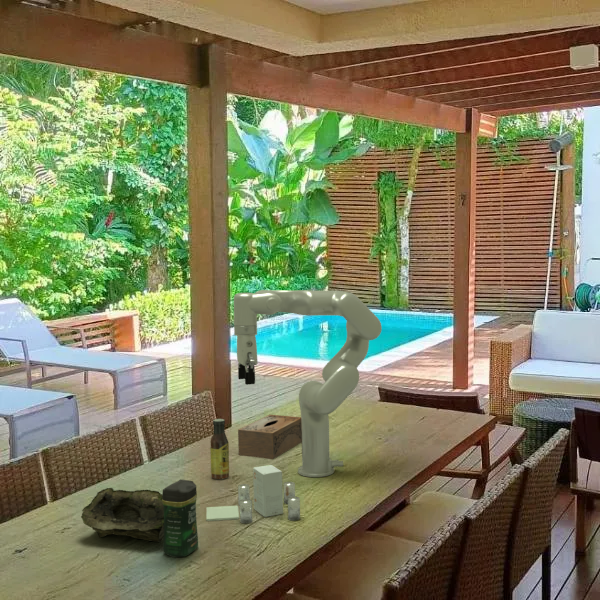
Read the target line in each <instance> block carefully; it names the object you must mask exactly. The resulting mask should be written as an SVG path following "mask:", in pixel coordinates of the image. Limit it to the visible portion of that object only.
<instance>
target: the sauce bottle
mask: <svg viewBox="0 0 600 600" xmlns="http://www.w3.org/2000/svg"><path fill="white" fill-rule="evenodd" d="M225 424H226V421H225V419H223V418H216V419H212V425H213V434H212V436H211V438H210V441H209V443H210V447H209V449H210V473H211V475H210V476H211V478H212V479H214V480H224V479H227V478H229V476H230V475H229V473H230V453H229V452H230V448H229V445H230V444H229V440H228V437H227V434H226V431H225V430H226V429H225Z"/></svg>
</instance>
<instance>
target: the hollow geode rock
mask: <svg viewBox="0 0 600 600" xmlns="http://www.w3.org/2000/svg"><path fill="white" fill-rule="evenodd" d="M81 511H82V513H81V520H82V521H83V524H84V525H85V526H87V527H89V528H91V529H92V530H94V531H95V532H96V533H97V534H98V537H99V538H102V537H106V536H108V535H117V536H129V537H131V538H134V539H138V540H144V541H150V542H158V543H161V542H163V540H164V507H163V502H162V492H160V491H156V490H150V489H137V490H133V491H132V490H131V491H130V490H129V491H128V490H123V489H118V490H114V488H112V487H108V488H107V487H106V488H105V489H101V490H100V491H97V493H96V495H95V496H94V497H93V499H92V500H91V502H90V503H89V504H87V505H86V506H84V507H83V509H81Z"/></svg>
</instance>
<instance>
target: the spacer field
mask: <svg viewBox="0 0 600 600" xmlns="http://www.w3.org/2000/svg"><path fill="white" fill-rule="evenodd" d="M282 485H283V504H285V505H287V519H288V520H289V521H294V522H295V521H299V520H300V519H301V503H300V501H301V500H300V497H299V496H296V484H295V482H294V481H285V482H282ZM250 488H251V487H250V484H247V483H241V484H239V485H237V493H238V494H237V495H238V497H237V498H238V501H237V503H238V507H239V522H240V523H241V524H250V523H252V522H253V501H252V499H251V491H250Z"/></svg>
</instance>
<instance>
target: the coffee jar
mask: <svg viewBox="0 0 600 600" xmlns="http://www.w3.org/2000/svg"><path fill="white" fill-rule="evenodd" d="M161 494H162V502H163V507H164V538H163V539H162V542H163V543H162V545H163V546H162V547H163V548H162V549H163V550H162V551H163V554H165V555H168V557H172V558H177V557H186V556H189V555H190V554H192V553H193V552H195V551H196V549H197V548H198V547H199V538H198V537H199V535H198V526H197V498H198V497H197V496H198V492H197V485H196V483H195V482H194V481H193V480H187V479H179V480H176V481H175V482H173V483H171V484H169V485H168V486H166V487H164V488H163V489H162V492H161Z"/></svg>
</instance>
